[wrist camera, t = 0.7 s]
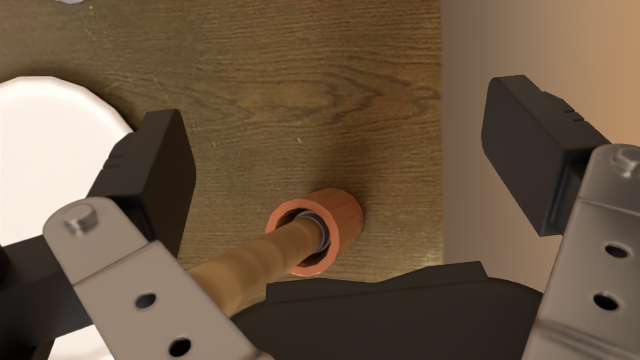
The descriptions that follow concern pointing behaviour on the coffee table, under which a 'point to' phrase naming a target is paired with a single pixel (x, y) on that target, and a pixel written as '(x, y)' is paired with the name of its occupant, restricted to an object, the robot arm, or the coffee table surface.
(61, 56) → the coffee table surface
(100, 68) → the coffee table surface
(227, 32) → the coffee table surface
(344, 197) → the holder
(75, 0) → the grey faceted cup
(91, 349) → the plate
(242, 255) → the light brown wooden rod
